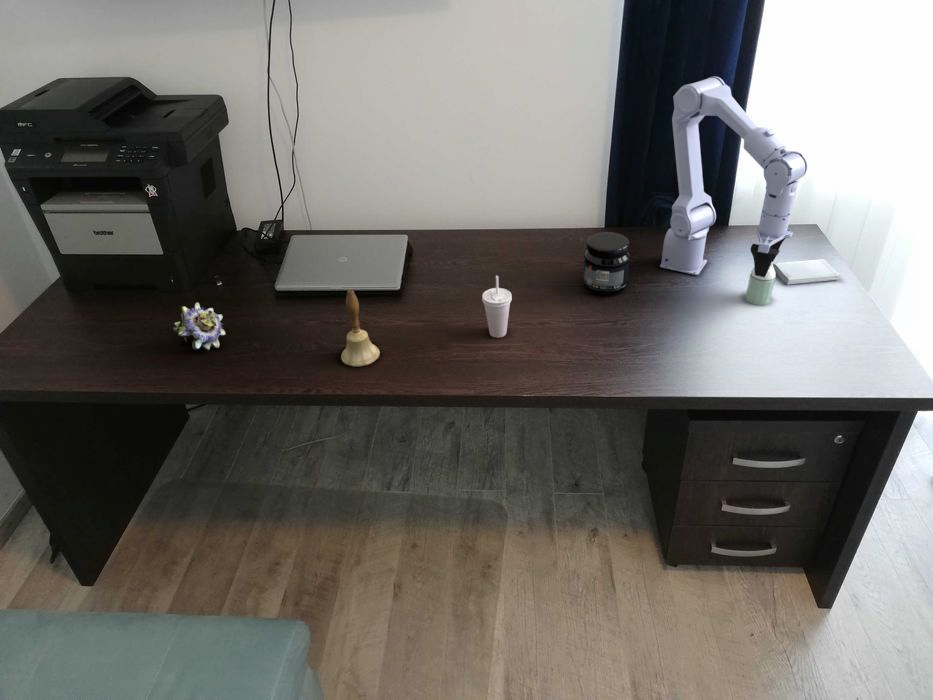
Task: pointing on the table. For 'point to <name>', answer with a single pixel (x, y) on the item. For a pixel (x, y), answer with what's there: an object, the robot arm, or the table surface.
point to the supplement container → (606, 263)
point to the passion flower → (200, 327)
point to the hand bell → (357, 338)
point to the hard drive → (805, 271)
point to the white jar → (768, 276)
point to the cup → (759, 290)
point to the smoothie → (497, 309)
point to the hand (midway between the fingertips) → (764, 267)
